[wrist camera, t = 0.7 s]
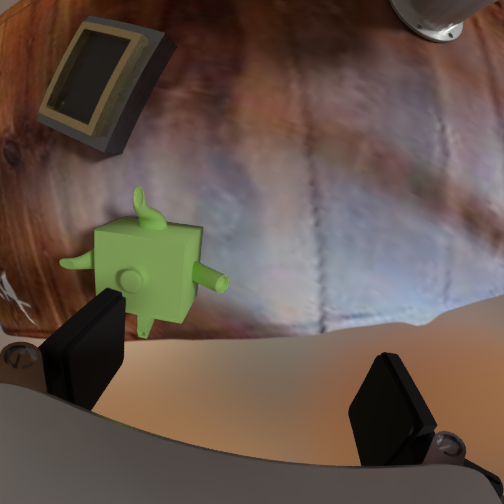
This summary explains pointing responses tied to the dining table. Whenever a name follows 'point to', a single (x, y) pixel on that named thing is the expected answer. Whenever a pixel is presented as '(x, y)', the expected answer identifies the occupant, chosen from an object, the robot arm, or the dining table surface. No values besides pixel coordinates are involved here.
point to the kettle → (149, 264)
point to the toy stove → (105, 82)
